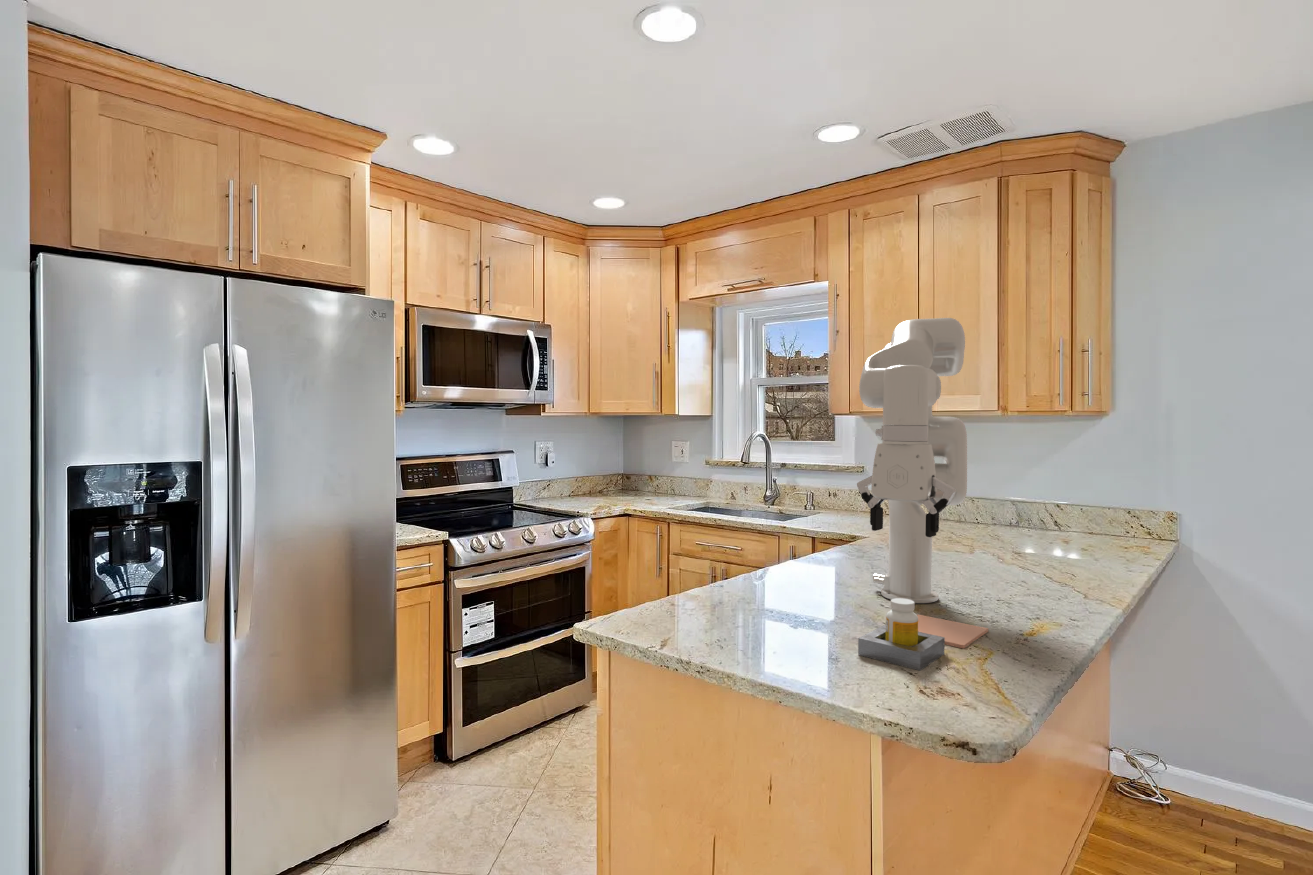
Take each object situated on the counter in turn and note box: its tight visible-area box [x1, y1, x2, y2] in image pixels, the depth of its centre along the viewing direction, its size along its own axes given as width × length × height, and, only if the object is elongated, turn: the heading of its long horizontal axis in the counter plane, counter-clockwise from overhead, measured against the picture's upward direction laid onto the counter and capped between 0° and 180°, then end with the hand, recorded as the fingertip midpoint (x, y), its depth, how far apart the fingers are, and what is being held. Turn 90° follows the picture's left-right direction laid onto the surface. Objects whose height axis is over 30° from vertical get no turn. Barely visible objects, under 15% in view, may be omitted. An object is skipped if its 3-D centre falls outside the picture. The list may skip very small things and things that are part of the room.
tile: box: [916, 614, 989, 649], centre depth 135 cm, size 14×14×1 cm
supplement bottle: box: [885, 598, 918, 647], centre depth 122 cm, size 5×5×10 cm
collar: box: [857, 624, 946, 671], centre depth 122 cm, size 11×11×3 cm
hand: (903, 532), depth 121 cm, fingers open, 9 cm apart
